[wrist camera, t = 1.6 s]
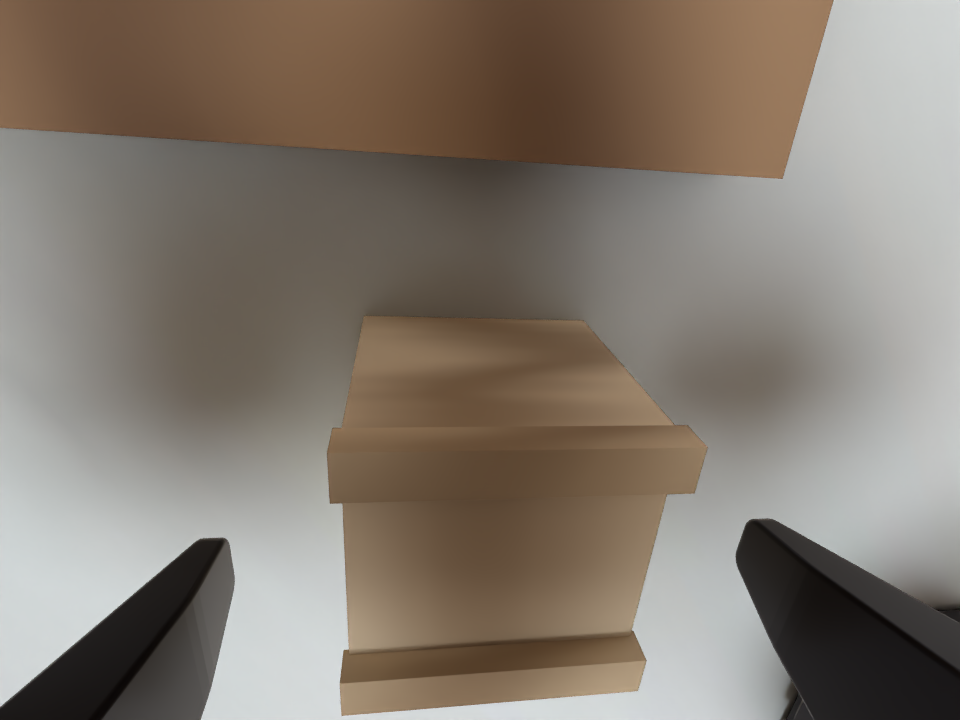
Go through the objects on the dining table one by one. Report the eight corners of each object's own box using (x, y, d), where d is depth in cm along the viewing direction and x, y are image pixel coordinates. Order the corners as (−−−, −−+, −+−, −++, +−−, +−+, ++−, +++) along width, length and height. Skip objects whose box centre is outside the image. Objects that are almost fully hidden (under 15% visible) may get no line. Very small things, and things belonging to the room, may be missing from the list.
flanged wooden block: (587, 314, 13) (708, 447, 8) (558, 495, 15) (637, 690, 10) (359, 309, 12) (326, 453, 7) (364, 500, 14) (341, 715, 9)
